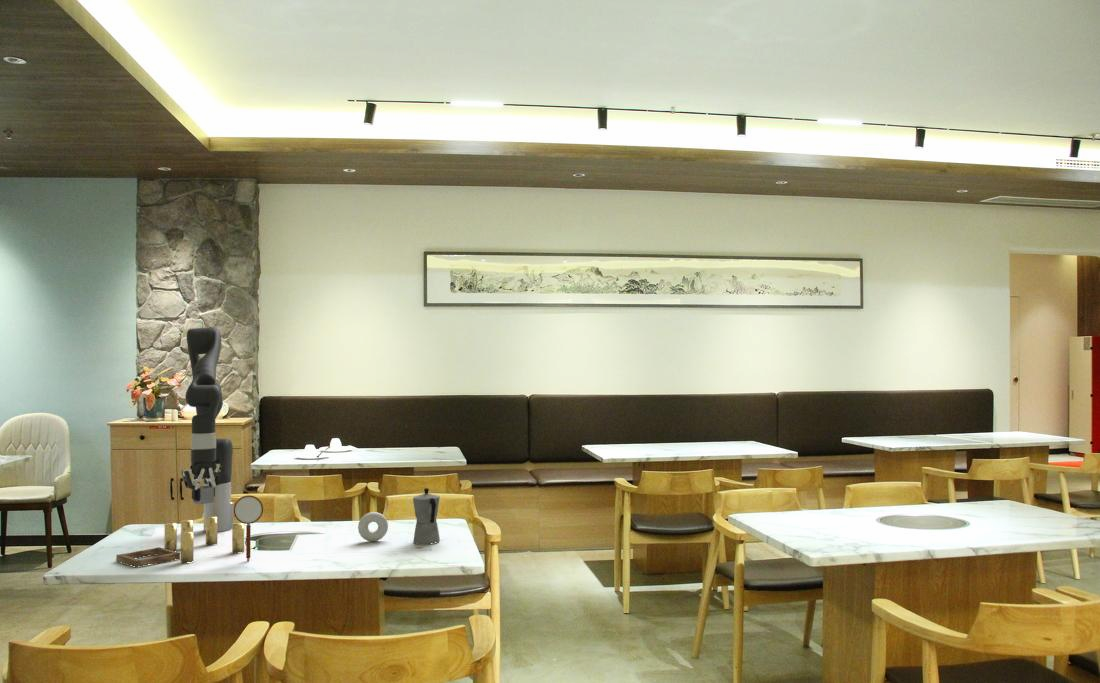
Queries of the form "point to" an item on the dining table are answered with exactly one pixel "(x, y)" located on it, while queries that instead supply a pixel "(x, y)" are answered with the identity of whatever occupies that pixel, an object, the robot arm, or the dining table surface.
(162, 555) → the tray
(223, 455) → the robot arm
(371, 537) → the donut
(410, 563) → the dining table surface
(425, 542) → the coffeepot
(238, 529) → the standing stones
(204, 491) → the grey block
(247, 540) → the magnifying glass
